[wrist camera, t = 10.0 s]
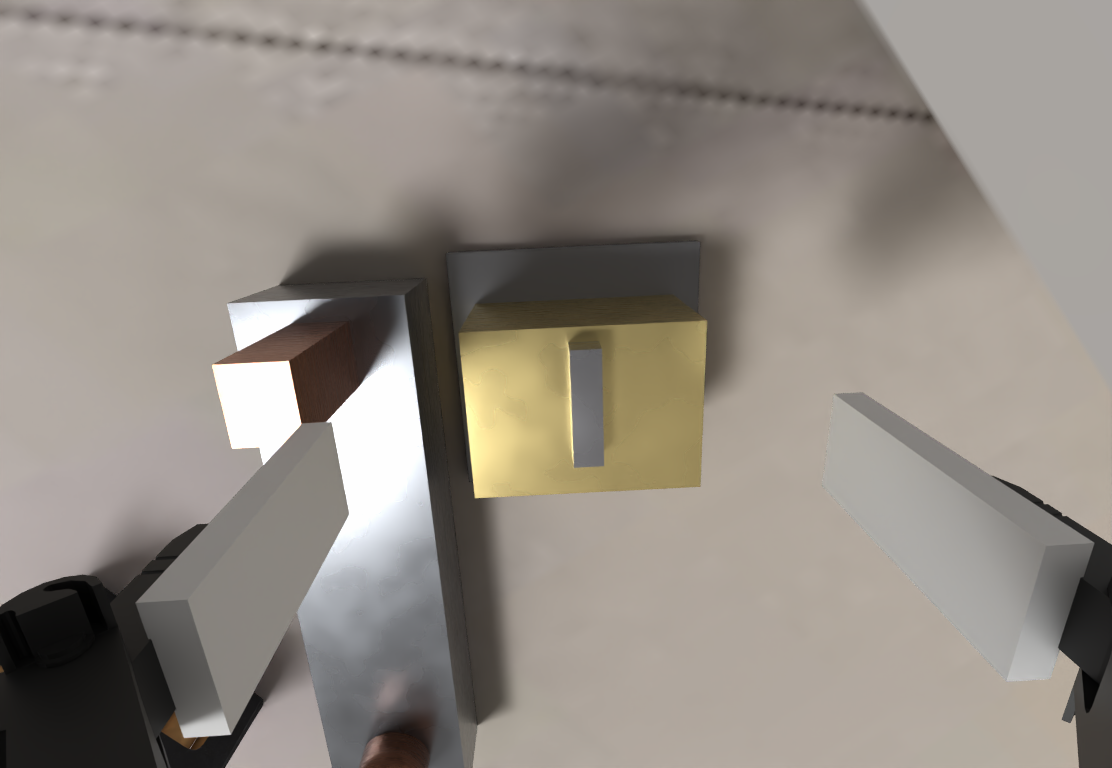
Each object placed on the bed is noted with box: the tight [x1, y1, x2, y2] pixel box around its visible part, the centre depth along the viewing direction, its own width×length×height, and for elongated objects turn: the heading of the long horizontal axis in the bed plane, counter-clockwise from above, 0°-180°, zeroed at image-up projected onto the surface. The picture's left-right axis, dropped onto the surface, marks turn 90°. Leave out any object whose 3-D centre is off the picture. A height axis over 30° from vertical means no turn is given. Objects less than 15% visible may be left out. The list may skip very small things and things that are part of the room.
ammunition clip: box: [0, 587, 263, 768], centre depth 23 cm, size 11×2×12 cm, turn 42°
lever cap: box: [458, 295, 707, 498], centre depth 21 cm, size 6×8×6 cm
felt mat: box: [446, 241, 700, 482], centre depth 24 cm, size 10×10×1 cm
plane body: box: [212, 278, 477, 768], centre depth 23 cm, size 24×6×9 cm, turn 2°
